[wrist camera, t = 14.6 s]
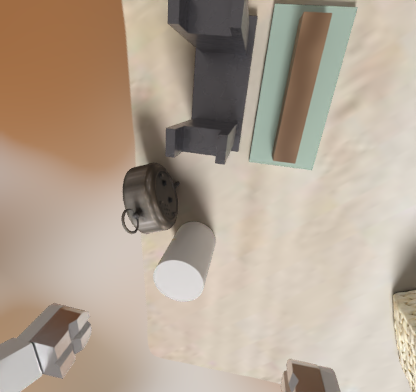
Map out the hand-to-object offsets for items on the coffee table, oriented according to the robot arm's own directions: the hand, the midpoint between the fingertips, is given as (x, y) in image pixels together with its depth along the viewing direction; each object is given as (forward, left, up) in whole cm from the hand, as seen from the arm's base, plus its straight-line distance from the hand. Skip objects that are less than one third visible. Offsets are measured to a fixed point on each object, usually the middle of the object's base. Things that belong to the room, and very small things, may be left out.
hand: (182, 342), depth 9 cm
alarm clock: (+12, +7, -33) cm, 36 cm away
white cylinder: (+6, +18, -33) cm, 38 cm away
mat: (-7, -10, -33) cm, 35 cm away
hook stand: (+4, -10, -33) cm, 35 cm away
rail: (-7, -10, -32) cm, 35 cm away
